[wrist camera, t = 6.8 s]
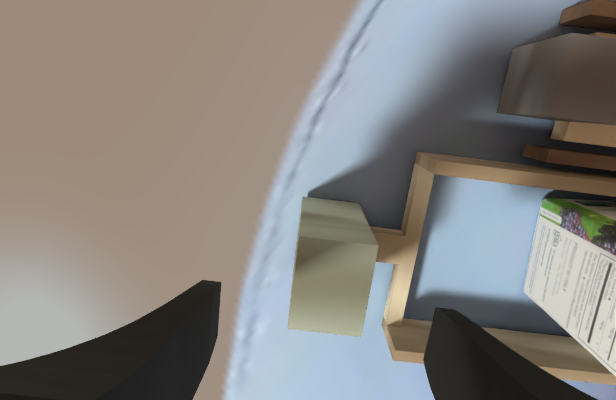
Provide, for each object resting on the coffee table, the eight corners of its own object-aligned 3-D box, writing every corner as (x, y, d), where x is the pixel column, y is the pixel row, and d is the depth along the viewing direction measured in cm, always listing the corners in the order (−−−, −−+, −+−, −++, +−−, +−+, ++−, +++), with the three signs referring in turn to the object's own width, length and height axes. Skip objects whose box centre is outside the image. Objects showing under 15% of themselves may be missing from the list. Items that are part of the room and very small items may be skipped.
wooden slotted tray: (614, 351, 21) (721, 439, 16) (287, 314, 21) (279, 391, 15) (682, 184, 19) (840, 220, 13) (309, 137, 18) (309, 153, 13)
